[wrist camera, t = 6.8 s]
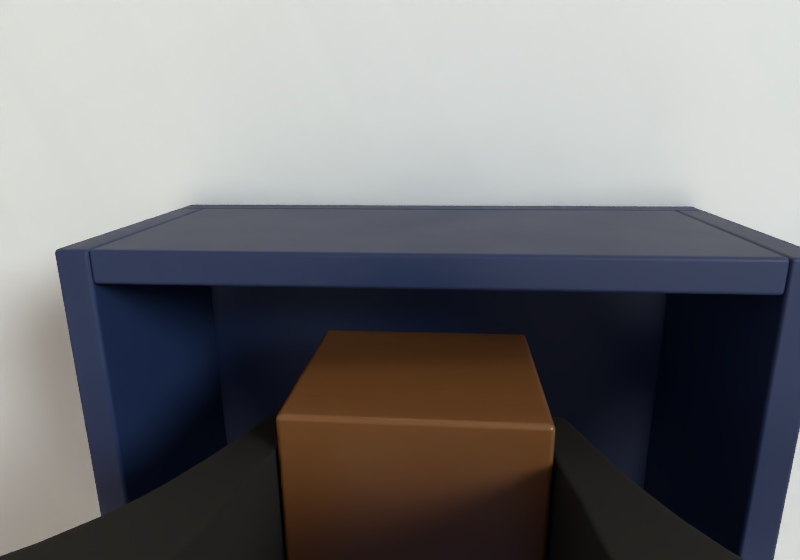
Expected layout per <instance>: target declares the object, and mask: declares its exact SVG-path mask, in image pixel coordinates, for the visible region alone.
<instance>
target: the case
mask: <svg viewBox="0 0 800 560" xmlns="http://www.w3.org/2000/svg"><path fill="white" fill-rule="evenodd" d="M55 255H56V260H57V266H58V272H59V278H60V283H61V289H62V295H63V300H64V306H65V312H66V317H67V323H68V329H69V335H70V340H71V346H72V352H73V357H74V363H75V369H76V374H77V380H78V386H79V392H80V397H81V403H82V409H83V414H84V420H85V426H86V431H87V437H88V443H89V449H90V454H91V460H92V466H93V471H94V477H95V483H96V489H97V494H98V500H99V506H100V511H101V516H103V515H105V514H107V513H110V512H112V511H114V510H116V509H118V508H120V507H122V506H124V505H126V504H128V503H130V502H132V501H134V500H136V499H138V498H140V497H142V496H144V495H146V494H148V493H149V492H151V491H153V490H155V489H157V488H159V487H161V486H162V485H164V484H166V483H168V482H169V481H171V480H173V479H174V478H176V477H178V476H179V475H181V474H182V473H184V472H186V471H187V470H189V469H191V468H192V467H194V466H195V465H197V464H199V463H200V462H202V461H204V460H205V459H207V458H209V457H210V456H212V455H213V454H215V453H216V452H218V451H219V450H221V449H222V448H224V447H225V446H227V445H228V444H230V443H231V442H233V441H234V440H236V439H237V438H239V437H240V436H242V435H243V434H244V433H246V432H247V431H249V430H250V429H252V428H253V427H255V426H256V425H257V424H259V423H260V422H262V421H263V420H265V419H266V418H268V417H269V416H271V415H272V414H274V413H275V412H277V411H278V410H280V409H281V408H282V406H283V404H284V403H285V401H286V399H287V398H288V396H289V394H290V393H291V391H292V389H293V388H294V386H295V384H296V383H297V381H298V379H299V378H300V376H301V374H302V372H303V371H304V369H305V367H306V366H307V364H308V362H309V361H310V359H311V357H312V356H313V354H314V352H315V351H316V349H317V347H318V346H319V344H320V342H321V341H322V339H323V337H324V335H325V334H326V332H327V331H329V330H349V331H392V332H435V333H477V334H520V335H524V336H525V337H526V340H527V343H528V346H529V349H530V352H531V356H532V359H533V362H534V365H535V368H536V371H537V374H538V377H539V380H540V383H541V386H542V389H543V392H544V395H545V398H546V401H547V404H548V407H549V410H550V413H551V417H564V418H565V419H566V420H567V421H568V422H569V423H570V424H571V425H572V426H574V427H575V428H576V429H577V430H578V431H579V432H580V433H581V434H582V435H583V436H584V437H585V438H586V439H587V440H588V441H589V442H590V443H591V444H592V445H593V446H594V447H596V448H597V449H598V450H599V451H600V452H601V453H602V454H603V455H604V456H605V457H606V458H607V459H608V460H610V461H611V462H612V463H613V464H614V465H615V466H616V467H617V468H619V469H620V470H621V471H622V472H623V473H624V474H625V475H627V476H628V477H629V478H630V479H631V480H632V481H634V482H635V483H636V484H637V485H638V486H640V487H641V488H642V489H643V490H644V491H646V492H647V493H648V494H650V495H651V496H652V497H653V498H655V499H656V500H657V501H659V502H660V503H661V504H662V505H664V506H665V507H666V508H668V509H669V510H670V511H671V512H673V513H674V514H676V515H677V516H678V517H680V518H681V519H683V520H684V521H685V522H687V523H688V524H690V525H691V526H693V527H694V528H696V529H697V530H699V531H700V532H702V533H703V534H705V535H706V536H708V537H709V538H711V539H712V540H714V541H715V542H717V543H718V544H720V545H721V546H723V547H724V548H726V549H727V550H729V551H731V552H732V553H734V554H736V555H737V556H739V557H741V558H742V559H744V560H773V559H774V554H775V549H776V544H777V539H778V534H779V529H780V524H781V519H782V513H783V508H784V503H785V498H786V493H787V488H788V483H789V478H790V473H791V468H792V463H793V458H794V453H795V448H796V443H797V438H798V433H799V428H800V247H799V246H796V245H794V244H791V243H788V242H785V241H783V240H780V239H777V238H775V237H772V236H769V235H767V234H764V233H761V232H759V231H756V230H753V229H751V228H748V227H745V226H742V225H740V224H737V223H734V222H732V221H729V220H726V219H724V218H721V217H718V216H716V215H713V214H710V213H707V212H705V211H701V210H699V209H696V208H694V207H604V206H348V205H190V206H187V207H184V208H181V209H178V210H175V211H172V212H169V213H166V214H163V215H160V216H157V217H154V218H151V219H148V220H145V221H142V222H139V223H136V224H133V225H130V226H127V227H124V228H120V229H117V230H114V231H111V232H108V233H105V234H102V235H99V236H96V237H93V238H90V239H87V240H84V241H81V242H78V243H75V244H72V245H69V246H66V247H63V248H60V249H58V250H56V252H55Z"/></svg>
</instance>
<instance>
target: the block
mask: <svg viewBox="0 0 800 560" xmlns="http://www.w3.org/2000/svg"><path fill="white" fill-rule="evenodd" d="M276 426H277V439H278V452H279V466H280V479H281V492H282V506H283V519H284V532H285V546H286V559H287V560H546V556H547V542H548V528H549V514H550V500H551V486H552V472H553V458H554V444H555V430H556V429H555V426H554V423H553V420H552V417H551V413H550V410H549V407H548V404H547V401H546V398H545V395H544V392H543V389H542V386H541V383H540V380H539V377H538V374H537V371H536V368H535V365H534V362H533V359H532V356H531V352H530V349H529V346H528V343H527V340H526V337H525V336H524V335H520V334H477V333H435V332H392V331H349V330H329V331H327V332H326V334H325V335H324V337H323V339H322V341H321V342H320V344H319V346H318V347H317V349H316V351H315V352H314V354H313V356H312V357H311V359H310V361H309V362H308V364H307V366H306V367H305V369H304V371H303V372H302V374H301V376H300V378H299V379H298V381H297V383H296V384H295V386H294V388H293V389H292V391H291V393H290V394H289V396H288V398H287V399H286V401H285V403H284V404H283V406H282V408H281V409H280V411H279V413H278V415H277V417H276Z"/></svg>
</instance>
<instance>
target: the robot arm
mask: <svg viewBox="0 0 800 560" xmlns="http://www.w3.org/2000/svg"><path fill="white" fill-rule="evenodd" d="M279 411H280V410H278V411H277V412H275V413H274V414H272V415H271V416H269V417H268V418H266V419H265V420H263V421H262V422H260V423H259V424H257V425H256V426H255V427H253V428H252V429H250V430H249V431H247V432H246V433H244V434H243V435H242V436H240V437H239V438H237V439H236V440H234V441H233V442H231V443H230V444H228V445H227V446H225V447H224V448H222V449H221V450H219V451H218V452H216V453H215V454H213V455H212V456H210V457H209V458H207V459H205V460H204V461H202V462H200V463H199V464H197V465H195V466H194V467H192V468H191V469H189V470H187V471H186V472H184V473H182V474H181V475H179V476H178V477H176V478H174V479H173V480H171V481H169V482H168V483H166V484H164V485H162V486H161V487H159V488H157V489H155V490H153V491H151V492H149V493H148V494H146V495H144V496H142V497H140V498H138V499H136V500H134V501H132V502H130V503H128V504H126V505H124V506H122V507H120V508H118V509H116V510H114V511H112V512H110V513H107V514H105V515H103V516H101V517H99V518H96V519H94V520H91V521H89V522H87V523H84V524H82V525H80V526H77V527H75V528H72V529H70V530H68V531H65V532H63V533H60V534H58V535H56V536H53V537H51V538H48V539H46V540H44V541H41V542H39V543H36V544H33V545H31V546H28V547H25V548H22V549H20V550H17V551H14V552H11V553H8V554H6V555H3V556H0V560H287V559H286V546H285V532H284V519H283V506H282V492H281V479H280V466H279V452H278V439H277V426H276V417H277V415H278V413H279ZM552 420H553V423H554V426H555V429H556V430H555V444H554V458H553V472H552V486H551V500H550V514H549V528H548V542H547V556H546V560H744V559H742V558H741V557H739V556H737V555H736V554H734V553H732V552H731V551H729V550H727V549H726V548H724V547H723V546H721V545H720V544H718V543H717V542H715V541H714V540H712V539H711V538H709V537H708V536H706V535H705V534H703V533H702V532H700V531H699V530H697V529H696V528H694V527H693V526H691V525H690V524H688V523H687V522H685V521H684V520H683V519H681V518H680V517H678V516H677V515H676V514H674V513H673V512H671V511H670V510H669V509H668V508H666V507H665V506H664V505H662V504H661V503H660V502H659V501H657V500H656V499H655V498H653V497H652V496H651V495H650V494H648V493H647V492H646V491H644V490H643V489H642V488H641V487H640V486H638V485H637V484H636V483H635V482H634V481H632V480H631V479H630V478H629V477H628V476H627V475H625V474H624V473H623V472H622V471H621V470H620V469H619V468H617V467H616V466H615V465H614V464H613V463H612V462H611V461H610V460H608V459H607V458H606V457H605V456H604V455H603V454H602V453H601V452H600V451H599V450H598V449H597V448H596V447H594V446H593V445H592V444H591V443H590V442H589V441H588V440H587V439H586V438H585V437H584V436H583V435H582V434H581V433H580V432H579V431H578V430H577V429H576V428H575V427H574V426H572V425H571V424H570V423H569V422H568V421H567V420H566V419H565V418H564V417H552Z"/></svg>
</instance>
